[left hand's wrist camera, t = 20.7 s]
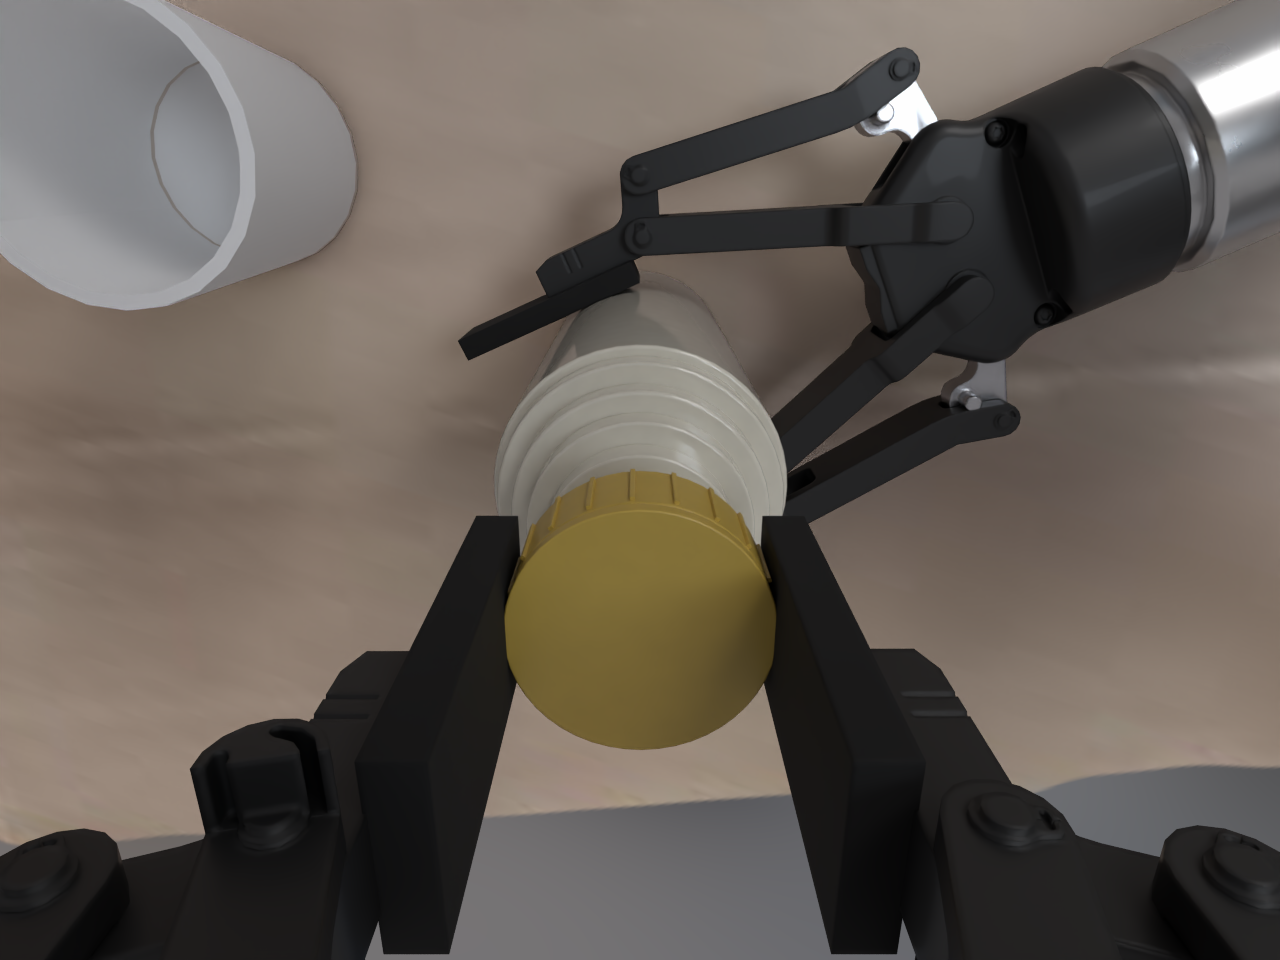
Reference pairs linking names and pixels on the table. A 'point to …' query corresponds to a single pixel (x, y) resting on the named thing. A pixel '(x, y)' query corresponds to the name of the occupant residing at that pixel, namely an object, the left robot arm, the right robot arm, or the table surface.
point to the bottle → (641, 409)
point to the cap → (640, 612)
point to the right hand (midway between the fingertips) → (520, 437)
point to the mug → (159, 153)
